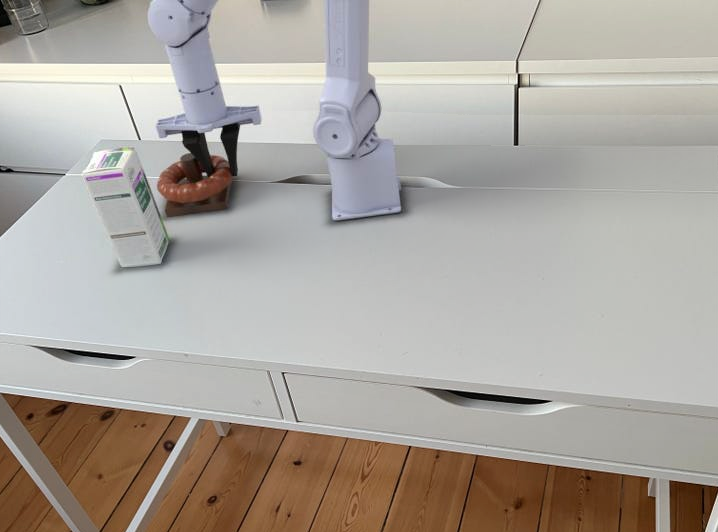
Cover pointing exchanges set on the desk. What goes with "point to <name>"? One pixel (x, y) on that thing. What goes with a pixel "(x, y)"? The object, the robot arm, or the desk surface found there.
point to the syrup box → (126, 206)
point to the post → (209, 204)
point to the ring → (194, 190)
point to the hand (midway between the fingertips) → (223, 174)
